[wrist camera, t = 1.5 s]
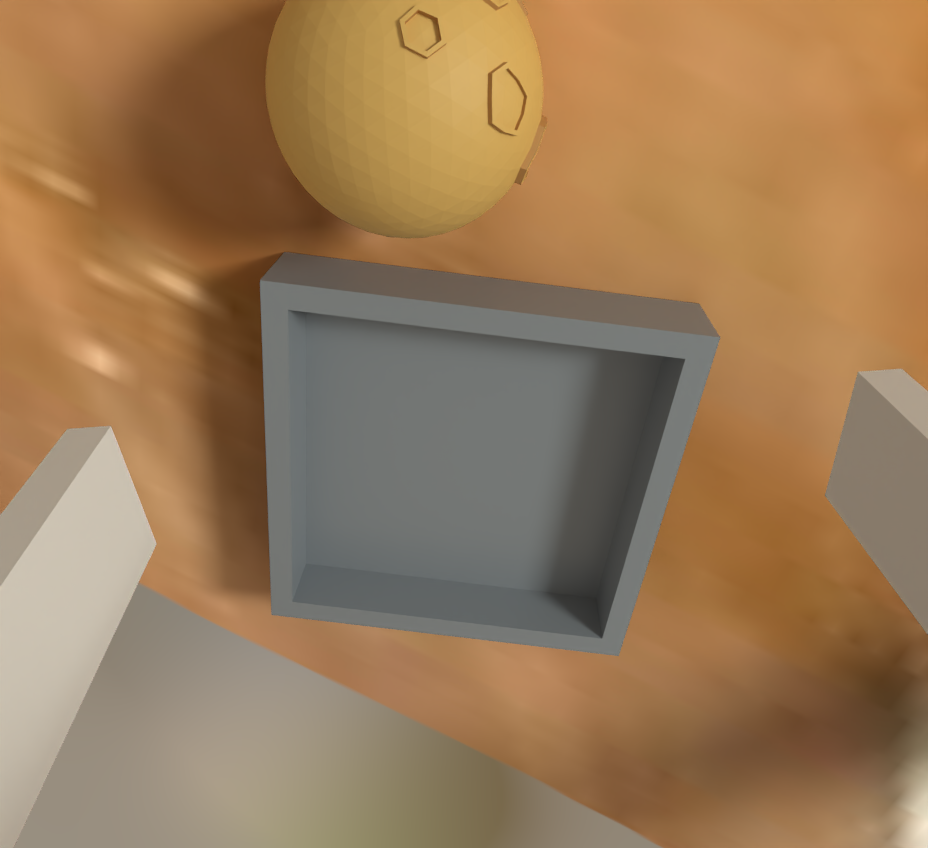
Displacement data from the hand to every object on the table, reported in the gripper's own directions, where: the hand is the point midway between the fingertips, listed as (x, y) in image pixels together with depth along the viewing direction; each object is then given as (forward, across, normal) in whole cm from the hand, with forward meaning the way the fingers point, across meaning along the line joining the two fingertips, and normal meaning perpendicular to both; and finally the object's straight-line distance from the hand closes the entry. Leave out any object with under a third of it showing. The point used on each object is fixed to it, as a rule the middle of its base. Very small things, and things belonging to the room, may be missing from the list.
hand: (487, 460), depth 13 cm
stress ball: (+23, +1, -3) cm, 23 cm away
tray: (+22, 0, +15) cm, 26 cm away
